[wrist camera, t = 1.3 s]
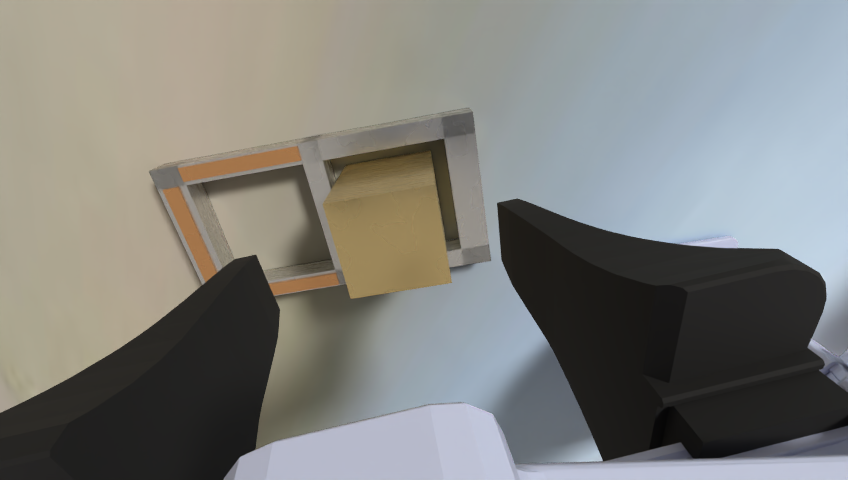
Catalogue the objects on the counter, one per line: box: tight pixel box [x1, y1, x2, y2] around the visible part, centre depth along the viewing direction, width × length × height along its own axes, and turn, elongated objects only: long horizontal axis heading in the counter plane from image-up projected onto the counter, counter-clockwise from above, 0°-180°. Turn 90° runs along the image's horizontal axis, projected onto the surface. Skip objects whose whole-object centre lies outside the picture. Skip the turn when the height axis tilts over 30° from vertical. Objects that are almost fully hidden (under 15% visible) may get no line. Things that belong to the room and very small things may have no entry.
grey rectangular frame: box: [149, 108, 491, 296], centre depth 22 cm, size 8×16×2 cm, turn 100°
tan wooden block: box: [323, 150, 452, 299], centre depth 20 cm, size 4×4×6 cm
